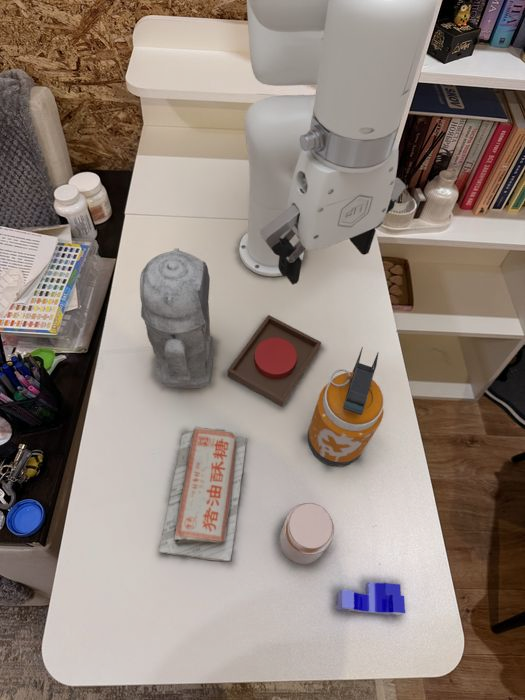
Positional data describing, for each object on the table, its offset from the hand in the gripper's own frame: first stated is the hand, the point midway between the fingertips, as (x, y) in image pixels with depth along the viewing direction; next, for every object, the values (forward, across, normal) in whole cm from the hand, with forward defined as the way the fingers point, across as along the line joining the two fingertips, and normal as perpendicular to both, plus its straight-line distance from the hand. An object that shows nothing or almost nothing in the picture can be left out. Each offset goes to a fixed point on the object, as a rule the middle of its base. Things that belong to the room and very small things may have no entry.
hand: (324, 260), depth 60 cm
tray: (+30, -2, +5) cm, 31 cm away
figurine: (+31, -15, +12) cm, 36 cm away
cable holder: (+31, -9, -33) cm, 46 cm away
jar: (+30, -12, -22) cm, 40 cm away
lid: (+28, -2, +5) cm, 29 cm away
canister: (+31, +1, -11) cm, 32 cm away
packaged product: (+31, -22, -10) cm, 39 cm away
